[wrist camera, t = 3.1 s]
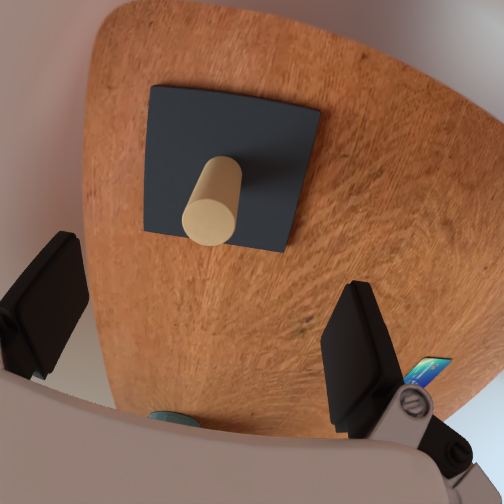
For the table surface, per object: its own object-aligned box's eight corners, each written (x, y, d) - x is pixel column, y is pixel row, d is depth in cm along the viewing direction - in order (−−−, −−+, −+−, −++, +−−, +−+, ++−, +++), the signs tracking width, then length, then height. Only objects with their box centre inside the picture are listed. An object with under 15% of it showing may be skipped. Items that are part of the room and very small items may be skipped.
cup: (150, 427, 42) (141, 476, 35) (145, 406, 38) (133, 463, 31) (200, 436, 43) (194, 486, 36) (202, 416, 39) (196, 475, 31)
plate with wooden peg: (146, 225, 22) (112, 289, 16) (154, 85, 16) (103, 100, 11) (283, 246, 23) (291, 317, 17) (319, 109, 17) (350, 137, 11)
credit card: (413, 396, 36) (414, 396, 36) (385, 396, 35) (385, 396, 35) (452, 359, 32) (452, 360, 31) (423, 357, 31) (424, 358, 31)
